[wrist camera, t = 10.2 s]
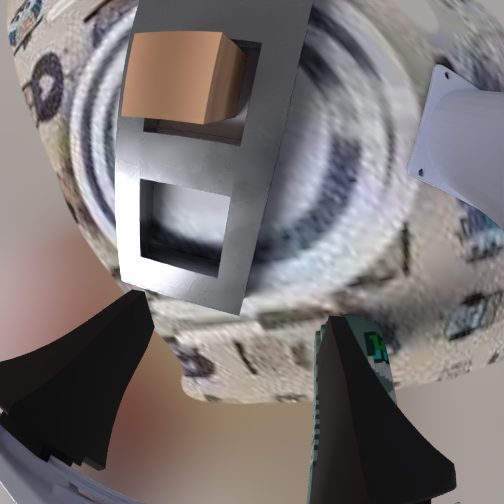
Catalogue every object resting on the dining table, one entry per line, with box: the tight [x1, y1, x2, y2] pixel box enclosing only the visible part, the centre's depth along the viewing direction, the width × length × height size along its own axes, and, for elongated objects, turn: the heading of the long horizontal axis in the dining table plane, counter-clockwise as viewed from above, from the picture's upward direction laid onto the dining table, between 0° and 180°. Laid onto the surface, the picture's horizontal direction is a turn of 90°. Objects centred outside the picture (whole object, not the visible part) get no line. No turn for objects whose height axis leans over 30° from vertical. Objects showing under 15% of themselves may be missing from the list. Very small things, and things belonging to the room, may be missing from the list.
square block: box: [121, 31, 248, 124], centre depth 11 cm, size 4×4×6 cm
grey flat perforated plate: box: [115, 0, 314, 316], centre depth 13 cm, size 10×30×2 cm, turn 169°
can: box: [307, 315, 397, 504], centre depth 16 cm, size 6×6×15 cm
